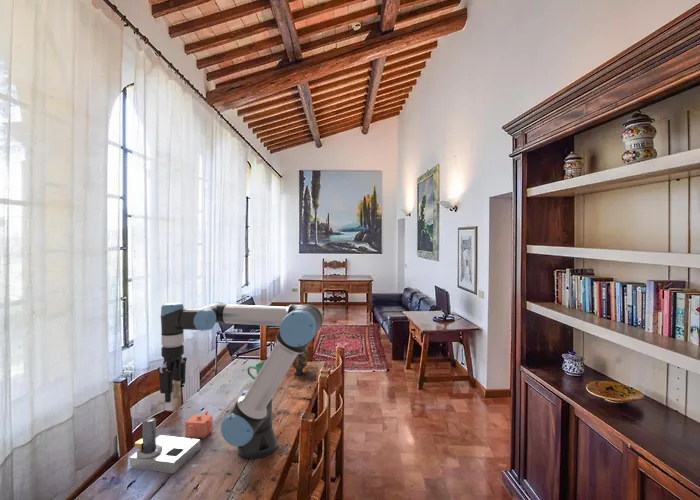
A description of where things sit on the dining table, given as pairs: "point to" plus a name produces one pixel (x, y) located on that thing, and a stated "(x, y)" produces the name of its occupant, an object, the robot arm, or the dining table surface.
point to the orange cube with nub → (199, 426)
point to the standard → (148, 440)
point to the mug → (257, 367)
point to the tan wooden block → (176, 395)
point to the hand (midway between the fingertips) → (173, 407)
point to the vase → (300, 363)
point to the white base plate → (168, 454)
